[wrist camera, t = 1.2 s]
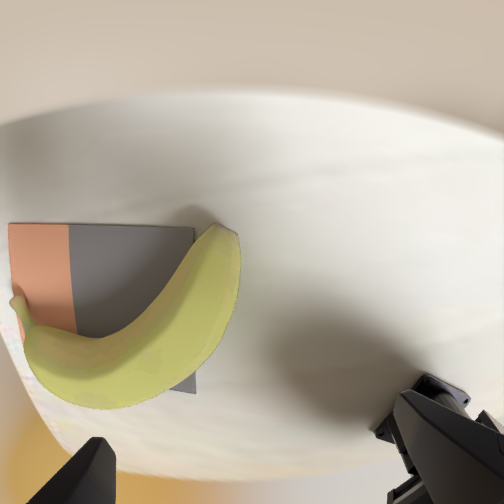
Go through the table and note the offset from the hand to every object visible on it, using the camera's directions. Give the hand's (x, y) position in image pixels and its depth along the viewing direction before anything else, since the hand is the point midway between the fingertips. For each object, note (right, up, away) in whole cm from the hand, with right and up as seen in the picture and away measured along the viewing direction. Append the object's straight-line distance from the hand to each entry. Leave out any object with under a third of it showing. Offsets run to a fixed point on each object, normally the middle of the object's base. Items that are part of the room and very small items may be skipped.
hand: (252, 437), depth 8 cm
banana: (-11, +1, +13) cm, 17 cm away
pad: (-18, +2, +14) cm, 23 cm away
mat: (-9, +1, +13) cm, 16 cm away
